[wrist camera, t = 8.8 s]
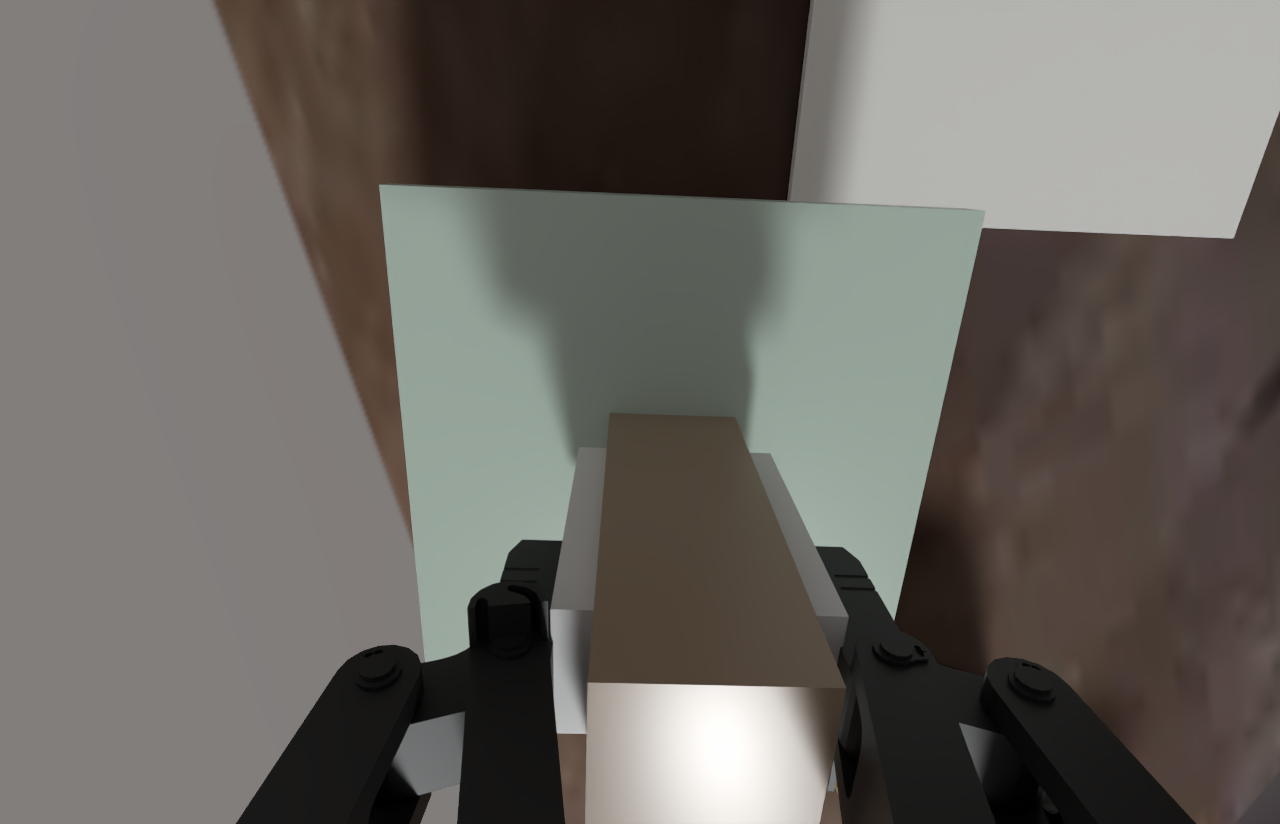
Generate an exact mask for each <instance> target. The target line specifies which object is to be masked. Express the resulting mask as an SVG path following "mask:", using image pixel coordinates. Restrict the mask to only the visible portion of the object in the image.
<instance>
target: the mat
mask: <svg viewBox="0 0 1280 824" xmlns="http://www.w3.org/2000/svg"><path fill="white" fill-rule="evenodd" d="M1279 111H1280V0H811V1H810V10H809V18H808V27H807V35H806V44H805V52H804V61H803V69H802V78H801V86H800V95H799V103H798V112H797V120H796V129H795V137H794V146H793V154H792V163H791V171H790V180H789V188H788V197H787V201H808V202H830V203H853V204H876V205H899V206H922V207H945V208H967V209H974V210H981V211H986V212H985V217H984V221H983V225H982V228H1001V229H1024V230H1047V231H1071V232H1094V233H1117V234H1141V235H1164V236H1187V237H1211V238H1234V235H1235V233H1236V230H1237V227H1238V224H1239V222H1240V219H1241V216H1242V213H1243V210H1244V208H1245V205H1246V202H1247V199H1248V197H1249V194H1250V191H1251V188H1252V186H1253V183H1254V180H1255V177H1256V174H1257V172H1258V169H1259V166H1260V163H1261V161H1262V158H1263V155H1264V152H1265V149H1266V147H1267V144H1268V141H1269V138H1270V136H1271V133H1272V130H1273V127H1274V124H1275V122H1276V119H1277V116H1278V113H1279Z"/></svg>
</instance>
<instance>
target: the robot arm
mask: <svg viewBox="0 0 1280 824" xmlns="http://www.w3.org/2000/svg"><path fill="white" fill-rule="evenodd" d="M606 451H607V448H591V447H579V450H578V456H577V462H576V467H575V473H574V479H573V484H572V490H571V496H570V501H569V507H568V512H567V518H566V524H565V529H564V535H563V541H558V540H521V541H520V542H519V543H518V544H517V545H516V546H515V547H514V548H513V549H512V550H511V551H510V552H509V553H508V556H507V559H506V563H505V566H504V571H503V572H502V576H501V579H500V582H499V583H494V584H491V585H489V586H487V587H485V588H483V589H481V590H479V591H478V592H477V593H476V594H475V595H474V596H473V597H472V598H471V599H470V602H469V604H468V607H467V614H468V630H469V645H470V647H469V648H467V649H466V650H464V651H462V652H460V653H458V654H456V655H453V656H450V657H446V658H443V659H439V660H434V661H429V662H425V663H421V662H420V660H419V657H418V655H417V654H416V653H414V652H413V651H412V650H410V649H409V648H406V647H401V646H397V645H386V646H377V647H374V648H370V649H367V650H364V651H362V652H360V653H358V654H357V655H355V656H353V657H351V658H350V659H348V660H347V661H346V662H345V663H344V664H343V665H342V666H341V667H340V669H338V671H337V672H336V674H335V675H334V677H333V678H332V680H331V681H330V683H329V684H328V686H327V687H326V689H325V690H324V692H323V693H322V695H321V696H320V698H319V699H318V701H317V702H316V704H315V705H314V707H313V708H312V710H311V711H310V713H309V714H308V716H307V717H306V719H305V720H304V722H303V724H302V725H301V726H300V728H299V729H298V731H297V732H296V734H295V735H294V737H293V738H292V740H291V741H290V743H289V744H288V746H287V748H286V749H285V751H284V752H283V754H282V755H281V757H280V758H279V760H278V761H277V763H276V764H275V766H274V767H273V769H272V770H271V772H270V773H269V775H268V776H267V778H266V779H265V781H264V782H263V784H262V785H261V787H260V788H259V790H258V791H257V793H256V794H255V796H254V797H253V799H252V800H251V802H250V803H249V805H248V806H247V808H246V809H245V811H244V812H243V814H242V815H241V817H240V818H239V820H238V821H237V823H236V824H420V823H421V820H422V817H423V815H424V812H425V809H426V807H427V804H428V802H429V799H430V797H431V792H433V791H436V790H440V789H443V788H447V787H450V786H454V785H457V784H460V792H459V807H458V821H457V824H565V818H564V807H563V796H562V785H561V774H560V763H559V752H558V741H557V733H571V734H587V694H588V673H589V660H590V648H591V636H592V623H593V611H594V599H595V587H596V574H597V562H598V550H599V537H600V525H601V513H602V500H603V488H604V476H605V464H606ZM750 455H751V457H752V460H753V462H754V465H755V467H756V469H757V472H758V474H759V477H760V479H761V482H762V484H763V486H764V489H765V491H766V494H767V496H768V499H769V501H770V504H771V506H772V508H773V511H774V513H775V516H776V518H777V521H778V523H779V525H780V528H781V530H782V533H783V535H784V538H785V540H786V542H787V545H788V547H789V550H790V552H791V555H792V557H793V559H794V562H795V564H796V567H797V569H798V572H799V574H800V577H801V579H802V581H803V584H804V586H805V589H806V591H807V594H808V596H809V598H810V601H811V603H812V606H813V608H814V611H815V613H816V615H817V618H818V620H819V623H820V625H821V628H822V630H823V632H824V635H825V637H826V640H827V642H828V645H829V647H830V650H831V652H832V654H833V657H834V659H835V662H836V664H837V667H838V669H839V671H840V674H841V676H842V679H843V681H844V684H845V686H846V693H845V698H844V703H843V708H842V713H841V718H840V723H839V728H838V733H837V740H836V745H835V750H834V755H833V760H832V765H831V770H830V775H829V781H828V789H827V791H833V792H834V788H835V783H836V780H837V787H838V795H839V802H840V810H841V817H842V824H1196V823H1195V822H1194V821H1193V820H1192V819H1191V818H1190V817H1189V816H1188V814H1187V813H1186V812H1185V811H1184V810H1183V809H1182V808H1181V807H1180V806H1179V805H1178V804H1177V802H1176V801H1175V800H1174V799H1173V798H1172V797H1171V796H1170V795H1169V794H1168V793H1167V792H1166V790H1165V789H1164V788H1163V787H1162V786H1161V785H1160V784H1159V783H1158V782H1157V781H1156V780H1155V779H1154V777H1153V776H1152V775H1151V774H1150V773H1149V772H1148V771H1147V770H1146V769H1145V768H1144V767H1143V765H1142V764H1141V763H1140V762H1139V761H1138V760H1137V759H1136V758H1135V757H1134V756H1133V755H1132V753H1131V752H1130V751H1129V750H1128V749H1127V748H1126V747H1125V746H1124V745H1123V744H1122V743H1121V741H1120V740H1119V739H1118V738H1117V737H1116V736H1115V735H1114V734H1113V733H1112V732H1111V731H1110V729H1109V728H1108V727H1107V726H1106V725H1105V724H1104V723H1103V722H1102V721H1101V720H1100V719H1099V717H1098V716H1097V715H1096V714H1095V713H1094V712H1093V711H1092V710H1091V709H1090V708H1089V707H1088V706H1087V704H1086V703H1085V702H1084V701H1083V700H1082V699H1081V698H1080V697H1079V696H1078V695H1077V694H1076V692H1075V691H1074V690H1073V689H1072V688H1071V687H1070V686H1069V685H1068V684H1067V683H1066V682H1065V681H1063V680H1062V679H1061V678H1060V677H1059V676H1058V675H1056V674H1055V673H1053V672H1051V671H1050V670H1048V669H1046V668H1044V667H1042V666H1041V665H1039V664H1036V663H1033V662H1030V661H1027V660H1024V659H1018V658H1009V657H1006V658H1000V659H995V660H994V661H993V662H991V663H990V664H989V665H988V666H987V670H986V673H985V676H981V675H977V674H973V673H969V672H965V671H961V670H957V669H953V668H950V667H947V666H944V665H940V664H938V663H936V660H935V658H934V656H933V655H932V653H931V652H930V650H929V648H928V647H926V646H925V645H924V644H923V643H921V642H920V641H919V640H918V639H916V638H914V637H912V636H910V635H908V634H906V633H904V632H901V631H900V630H899V628H898V627H897V625H896V623H895V621H894V620H893V618H892V616H891V615H890V613H889V611H888V609H887V608H886V606H885V604H884V602H883V601H882V599H881V597H880V595H879V594H878V592H877V591H875V587H874V585H873V583H872V581H871V580H870V579H868V574H867V573H866V571H865V569H864V568H863V566H862V564H861V562H860V561H859V560H858V559H857V558H856V557H854V556H853V555H852V554H851V553H850V552H848V551H847V550H846V549H845V548H843V547H827V546H815V545H814V543H813V541H812V539H811V537H810V535H809V533H808V531H807V529H806V526H805V524H804V522H803V520H802V518H801V516H800V514H799V512H798V510H797V508H796V506H795V504H794V501H793V499H792V497H791V495H790V493H789V491H788V489H787V487H786V485H785V483H784V481H783V479H782V476H781V474H780V472H779V470H778V468H777V466H776V464H775V462H774V460H773V458H772V456H771V454H770V453H750ZM1046 794H1047V795H1048V797H1049V798H1050V800H1051V801H1052V802H1053V804H1054V805H1055V806H1056V807H1055V806H1054V805H1053V804H1052V803H1051V801H1050V800H1049V799H1048V797H1047V796H1046Z"/></svg>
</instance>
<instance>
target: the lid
mask: <svg viewBox="0 0 1280 824" xmlns="http://www.w3.org/2000/svg"><path fill="white" fill-rule="evenodd" d="M379 188H380V198H381V209H382V219H383V230H384V240H385V250H386V261H387V271H388V281H389V292H390V302H391V312H392V323H393V333H394V344H395V354H396V364H397V375H398V385H399V395H400V406H401V416H402V426H403V437H404V447H405V458H406V468H407V478H408V489H409V499H410V509H411V520H412V530H413V540H414V551H415V561H416V572H417V582H418V591H419V603H420V613H421V623H422V633H423V644H424V654H425V662H429V661H434V660H439V659H443V658H446V657H450V656H453V655H456V654H458V653H460V652H462V651H464V650H466V649H467V648H469V647H470V645H469V630H468V614H467V607H468V604H469V602H470V599H471V598H472V597H473V596H474V595H475V594H476V593H477V592H478V591H479V590H481V589H483V588H485V587H487V586H489V585H491V584H494V583H499V582H500V579H501V576H502V572H503V571H504V566H505V563H506V559H507V556H508V553H509V552H510V551H511V550H512V549H513V548H514V547H515V546H516V545H517V544H518V543H519V542H520V541H521V540H558V541H563V535H564V529H565V524H566V518H567V512H568V507H569V501H570V496H571V490H572V484H573V479H574V473H575V467H576V462H577V456H578V450H579V447H591V448H607V451H606V464H605V476H604V488H603V500H602V513H601V525H600V537H599V550H598V562H597V574H596V587H595V599H594V611H593V623H592V636H591V648H590V660H589V673H588V694H587V754H586V813H585V824H819V823H820V818H821V813H822V808H823V803H824V798H825V793H826V788H827V783H828V778H829V773H830V768H831V763H832V758H833V753H834V748H835V743H836V738H837V733H838V728H839V723H840V718H841V713H842V708H843V703H844V698H845V693H846V686H845V684H844V681H843V679H842V676H841V674H840V671H839V669H838V667H837V664H836V662H835V659H834V657H833V654H832V652H831V650H830V647H829V645H828V642H827V640H826V637H825V635H824V632H823V630H822V628H821V625H820V623H819V620H818V618H817V615H816V613H815V611H814V608H813V606H812V603H811V601H810V598H809V596H808V594H807V591H806V589H805V586H804V584H803V581H802V579H801V577H800V574H799V572H798V569H797V567H796V564H795V562H794V559H793V557H792V555H791V552H790V550H789V547H788V545H787V542H786V540H785V538H784V535H783V533H782V530H781V528H780V525H779V523H778V521H777V518H776V516H775V513H774V511H773V508H772V506H771V504H770V501H769V499H768V496H767V494H766V491H765V489H764V486H763V484H762V482H761V479H760V477H759V474H758V472H757V469H756V467H755V465H754V462H753V460H752V457H751V455H750V453H770V454H771V456H772V458H773V460H774V462H775V464H776V466H777V468H778V470H779V472H780V474H781V476H782V479H783V481H784V483H785V485H786V487H787V489H788V491H789V493H790V495H791V497H792V499H793V501H794V504H795V506H796V508H797V510H798V512H799V514H800V516H801V518H802V520H803V522H804V524H805V526H806V529H807V531H808V533H809V535H810V537H811V539H812V541H813V543H814V545H815V546H827V547H843V548H845V549H846V550H847V551H848V552H850V553H851V554H852V555H853V556H854V557H856V558H857V559H858V560H859V561H860V562H861V564H862V566H863V568H864V569H865V571H866V573H867V574H868V579H870V580H871V581H872V583H873V585H874V587H875V591H877V592H878V594H879V595H880V597H881V599H882V601H883V602H884V604H885V606H886V608H887V609H888V611H889V613H890V615H891V616H892V618H893V620H895V615H896V611H897V606H898V602H899V597H900V593H901V588H902V584H903V579H904V575H905V570H906V566H907V561H908V557H909V552H910V548H911V543H912V539H913V534H914V530H915V526H916V521H917V517H918V512H919V508H920V503H921V499H922V494H923V490H924V485H925V481H926V476H927V472H928V467H929V463H930V458H931V454H932V449H933V445H934V440H935V436H936V431H937V427H938V423H939V418H940V414H941V409H942V405H943V400H944V396H945V391H946V387H947V382H948V378H949V373H950V369H951V364H952V360H953V355H954V351H955V346H956V342H957V337H958V333H959V328H960V324H961V320H962V315H963V311H964V306H965V302H966V297H967V293H968V288H969V284H970V279H971V275H972V270H973V266H974V261H975V257H976V252H977V248H978V243H979V239H980V234H981V230H982V225H983V221H984V217H985V212H986V211H981V210H974V209H967V208H945V207H922V206H899V205H876V204H853V203H830V202H808V201H785V200H762V199H739V198H716V197H693V196H670V195H647V194H624V193H601V192H578V191H556V190H533V189H510V188H487V187H464V186H441V185H418V184H395V183H392V184H381V185H379Z"/></svg>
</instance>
